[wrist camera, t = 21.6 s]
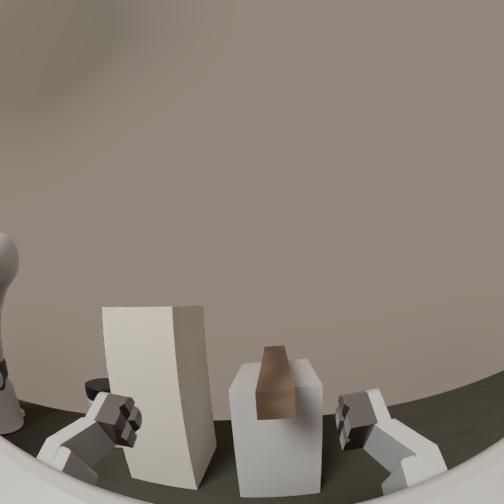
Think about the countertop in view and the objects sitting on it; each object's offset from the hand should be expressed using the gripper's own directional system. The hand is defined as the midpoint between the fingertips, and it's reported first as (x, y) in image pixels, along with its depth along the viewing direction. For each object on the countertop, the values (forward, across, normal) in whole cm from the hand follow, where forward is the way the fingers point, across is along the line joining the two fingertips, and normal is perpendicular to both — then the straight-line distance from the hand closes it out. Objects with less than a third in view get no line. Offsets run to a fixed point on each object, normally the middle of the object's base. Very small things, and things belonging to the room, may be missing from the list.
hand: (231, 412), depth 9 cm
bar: (+16, +2, -16) cm, 22 cm away
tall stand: (+12, -14, -32) cm, 37 cm away
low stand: (+11, +2, -32) cm, 34 cm away
